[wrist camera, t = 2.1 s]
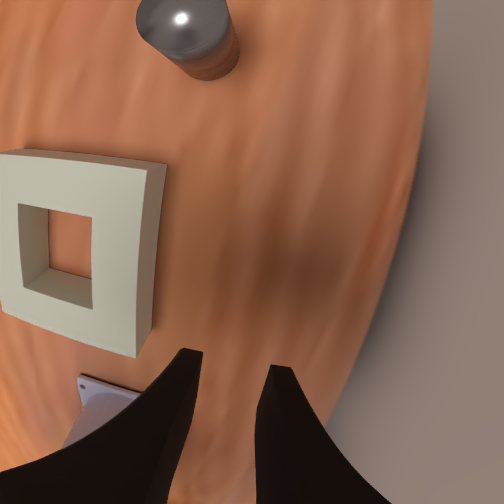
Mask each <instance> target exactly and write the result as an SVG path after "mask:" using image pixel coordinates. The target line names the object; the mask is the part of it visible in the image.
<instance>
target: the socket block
mask: <svg viewBox="0 0 504 504" xmlns="http://www.w3.org/2000/svg"><path fill="white" fill-rule="evenodd" d="M166 169H167V164H163V163H156V162H149V161H142V160H134V159H127V158H119V157H111V156H102V155H93V154H84V153H74V152H63V151H52V150H39V149H24V148H22V149H16V150H9V151H3V152H0V300H1V305H2V310H3V312H5V313H7V314H9V315H12V316H14V317H16V318H19V319H21V320H24V321H26V322H29V323H31V324H34V325H36V326H39V327H41V328H44V329H46V330H49V331H52V332H54V333H57V334H60V335H63V336H65V337H68V338H71V339H74V340H77V341H80V342H83V343H86V344H89V345H92V346H95V347H98V348H101V349H105V350H108V351H111V352H114V353H118V354H121V355H125V356H128V357H132V358H135V359H136V358H137V356H138V354H139V352H140V350H141V348H142V346H143V344H144V342H145V340H146V339H147V337H148V335H149V333H150V331H151V327H152V307H153V290H154V276H155V264H156V252H157V242H158V232H159V223H160V214H161V206H162V198H163V190H164V183H165V176H166ZM48 209H52V210H57V211H62V212H67V213H72V214H78V215H83V216H88V217H92V247H91V270H92V279H88V278H84V277H81V276H77V275H73V274H70V273H66V272H63V271H59V270H56V269H52V268H50V264H49V243H48Z"/></svg>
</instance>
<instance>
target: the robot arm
mask: <svg viewBox="0 0 504 504" xmlns="http://www.w3.org/2000/svg"><path fill="white" fill-rule="evenodd" d="M202 357H203V352H201V351H196V350H191V349H187V348H182V349H180V350H179V352H178V353H177V355H176V356H175V357H174V359H173V360H172V361H171V362H170V364H169V365H168V366H167V367H166V368H165V369H164V371H163V372H162V373H161V374H160V375H159V376H158V377H157V378H156V379H155V380H154V381H153V382H152V383H151V385H150V386H149V387H148V388H147V389H146V390H145V391H144V392H143V393H141V394H140V393H137V392H133V391H130V390H126V389H123V388H120V387H117V386H113V385H110V384H107V383H104V382H101V381H98V380H95V379H92V378H89V377H86V376H84V375H79V376H78V377H77V384H78V389H79V394H80V398H81V402H82V407H83V409H82V411H81V413H80V415H79V417H78V418H77V420H76V422H75V424H74V426H73V427H72V429H71V431H70V433H69V435H68V437H67V438H66V440H65V442H64V444H63V446H62V448H61V450H58V451H56V452H54V453H52V454H50V455H48V456H46V457H43V458H41V459H38V460H36V461H33V462H30V463H27V464H24V465H21V466H18V467H15V468H12V469H9V470H5V471H2V472H0V504H167V499H168V495H169V490H170V486H171V483H172V479H173V476H174V473H175V470H176V467H177V464H178V461H179V458H180V455H181V453H182V450H183V447H184V444H185V441H186V438H187V435H188V432H189V429H190V426H191V422H192V417H193V413H194V408H195V403H196V399H197V392H198V385H199V378H200V371H201V364H202ZM255 466H256V504H391V503H390V502H389V501H387V499H385V498H384V497H383V496H382V495H381V494H380V493H379V492H378V491H376V490H375V489H374V488H373V487H372V486H371V485H370V484H369V483H368V482H367V481H366V480H365V479H364V478H363V477H362V476H361V475H360V474H359V473H358V472H357V471H356V470H355V469H354V468H353V466H352V465H351V464H350V463H349V462H348V460H347V459H346V458H345V457H344V456H343V454H342V453H341V452H340V451H339V449H338V448H337V446H336V445H335V444H334V442H333V441H332V439H331V438H330V437H329V435H328V434H327V432H326V431H325V429H324V427H323V426H322V424H321V423H320V421H319V419H318V418H317V416H316V414H315V413H314V411H313V409H312V408H311V406H310V404H309V402H308V400H307V398H306V397H305V395H304V393H303V391H302V389H301V387H300V385H299V383H298V381H297V379H296V376H295V374H294V372H293V370H292V369H291V367H285V366H278V365H272V364H271V366H270V369H269V372H268V375H267V378H266V381H265V385H264V388H263V391H262V394H261V397H260V400H259V403H258V406H257V413H256V423H255Z"/></svg>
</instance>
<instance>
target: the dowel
mask: <svg viewBox="0 0 504 504" xmlns="http://www.w3.org/2000/svg"><path fill="white" fill-rule="evenodd" d="M136 25H137V29H138V32H139V34H140V35H141V37H142V38H143V39H144V40H145V41H146V42H148V43H149V44H150V45H151V46H153V47H154V48H155V49H157V50H158V51H159V52H161V53H162V54H163V55H164V56H166V57H167V58H168V59H170V60H171V61H172V62H173V63H175V64H176V65H177V66H178V67H180V68H181V69H182V70H183V71H184V72H186V73H187V74H188V75H190V76H191V77H193V78H195V79H198V80H203V81H210V80H215V79H219V78H221V77H223V76H225V75H226V74H228V73H229V72H230V71H231V70H232V69H233V68H234V66H235V65H236V63H237V61H238V58H239V46H238V42H237V38H236V35H235V31H234V28H233V24H232V20H231V17H230V13H229V10H228V6H227V3H226V0H142V1H141V3H140V5H139V7H138V10H137V14H136Z"/></svg>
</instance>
